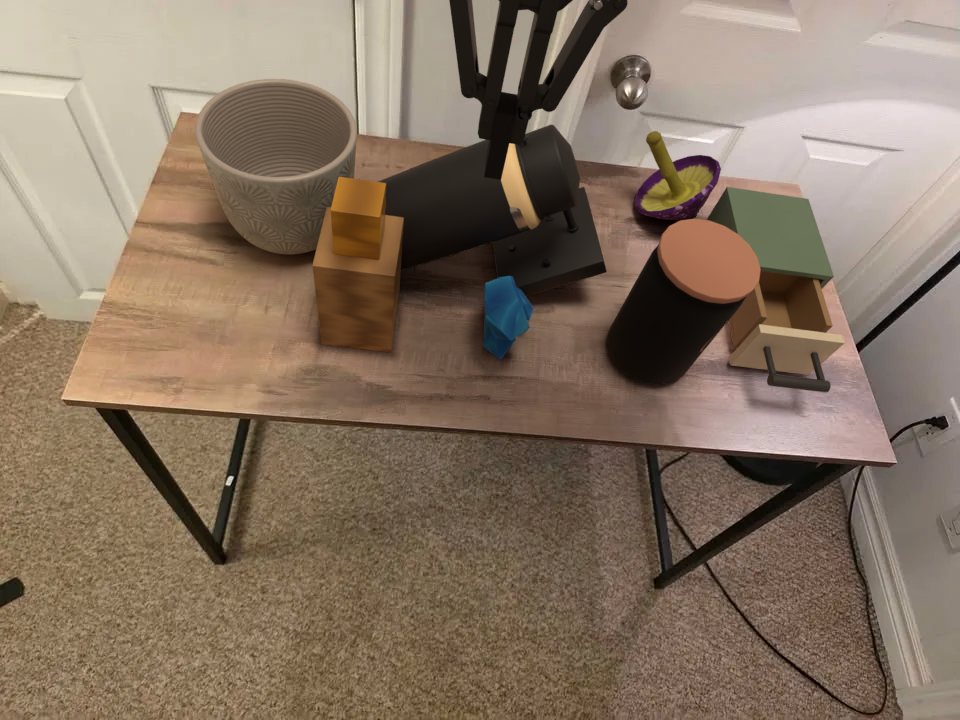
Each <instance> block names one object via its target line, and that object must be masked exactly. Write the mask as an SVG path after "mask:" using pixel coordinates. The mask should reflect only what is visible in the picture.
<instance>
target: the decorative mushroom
mask: <svg viewBox="0 0 960 720" xmlns="http://www.w3.org/2000/svg"><path fill="white" fill-rule="evenodd" d="M645 142H646V144H647V145H648V147H649V150H650V151H651V154H652V156H653V159H654V161H655V163H656V165H657V167H658V170H656V171H654V172H653V173H652V174H651V175H650V176H649V177H648V178H647V179H645V180H644V181H643V182H642V184H641V185H640V187H639V188H638V190H637V192H636V194H635V197H634V202H633V203H634V208H635V210H636V211H638V213H640V214H641V215H644V216H648V217H652V218H655V219H660V220H668V221H669V220H670V221H674V220H676V221H677V220H678V221H680V220H688V219H696V217H697V215H698V213H700V211H701V209H702V208H703V207H704V206H705V204H706V202H707V201H708V199H709V197H710V196H711V193H712V192H713V190H714V189H715V187H716V186H717V185H718V183H719V180H720V179H719V178H720V174H721V171H722V167H721V165H720V162H719V161H718V159H715V158H714V157H713V156H710V155H703V154H695V155H688V156H686V157H682V158H679V159H676V160H674V161H673V160H672V157H671V156H670V153H669V151H668V149H667V146H666V144H665V141H664V138H663V136H662V134H661V132H659V131H657V130H654V131H651V132H649V133H648V134H647V135H646V138H645Z"/></svg>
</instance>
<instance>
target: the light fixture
mask: <svg viewBox="0 0 960 720" xmlns="http://www.w3.org/2000/svg"><path fill="white" fill-rule="evenodd" d="M488 144H489V140H485V139H483V140H481V141H478V142H476V143H473V144H470V145H467V146H465V147H462V148H459V149H458V150H455V151H452V152H450V153H447V154H444V155H441V156H439V157H436V158H434V159H431V160H428V161H426V162H423V163H421V164H418V165H416V166H413V167H411V168H407V169H406V170H403V171H400V172H398V173H396V174H393V175H390V176H388V177H386V178H383V179H381V180H378V181H377V182H381V183H386V211H385V215H389V216H396V217H403V218H404V226H403V242H402V259H401V272H402V271H406V270H408V269H411V268H415V267H418V266H421V265H426V264H428V263H432V262H435V261H438V260H441V259H444V258H447V257H451V256H455V255H457V254H461V253H465V252H466V251H470V250H473V249H476V248H479V247H483V246H485V245H488V244H492V247H493V254H494V262H495V263H494V264H495V269H496V277H497V278H499V277H505V276H512V277H513V279H514V282H515V285H516V287H517V288H519V289H520V290H522V292H523V293H524V295H525V296H526V297H530V296H533V295H536V294H539V293H543V292H546V291H550V290H553V289H556V288H560V287H563V286H566V285H569V284H573V283H576V282H579V281H582V280H585V279H590V278H592V277H597V276H599V275H601V274H602V275H603V274H606V273H607V267H606V263H605V260H604V255H603V251H602V248H601V244H600V240H599V236H598V232H597V229H596V228H597V227H596V225H595V220H594V217H593V214H592V209H591V204H590V201H589V198H588V195H587V192H586V188H585V186H581V187H580V183H581V176H580V172H579V168H578V165H577V162H576V158H575V154H574V151H573V148H572V145H571V144H570V143H569V141H568V140H567V139H566V138H565V137H564V136H563V134H562V133H561V132H560V130H558V128H557V127H556V126H555V124H548V125H546V126H542V127H540V128H537V129H534V130H532V131H529V132H527V133H525V137H524V141H523V142H522V143H521V144H520V145H517V144H511V143H509V147H508V152H507V156H506V161H505V165H504V169H503V174H502V178H501V180H498V179H492V178H486V177H484V173H485V162H486V154H487V149H488Z"/></svg>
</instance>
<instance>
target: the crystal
mask: <svg viewBox="0 0 960 720" xmlns="http://www.w3.org/2000/svg"><path fill="white" fill-rule="evenodd" d="M483 288H484V289H483V292H484V293H483V294H484V295H483V297H484V298H483V299H484V321H483V322H484V323H483V339H482V341H483V342H482V347H483V348H484V349H485V350H487V351H488V352H490V353H491V354H492V355H493V356H495V358H497V359H499V360H500V361H501V360H502V359H503V357H505V355H506V354H507V352H508V351H509V350H510V348H511V347H512V345H513V344H514V343H515V342H516V341H517V338H518V337H519V336H521V335H522V334H524V333H525V332H527V331H528V330H529V329H530V324H529V322H530V321H531V318H532V315H533V312H534V309H535V308H534V306H533V305H532V303H531V301H530V300H529V299H528V298H527V297H528V296H525V295H524V293H523V292H522V290H520V289H519V288H517V287H516V285H515V282H514V279H513V277H512V276H505V277H499V278H494V279H491V280H490V281H486V282H485V284H484V285H483Z"/></svg>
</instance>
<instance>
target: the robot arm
mask: <svg viewBox="0 0 960 720" xmlns="http://www.w3.org/2000/svg"><path fill="white" fill-rule="evenodd" d="M573 1H574V0H498V8H497V13H496V19H495V26H494V31H493V37H492V42H491V49H490V54H489V60H488V64H487V71H486V75H485V74H484V73H481V72H480V66H479V57H478V55H479V54H478V47H477V36H476V26H475V16H474V6H473V0H449V1H448V2H449V9H450V16H451V24H452V31H453V39H454V47H455V54H456V62H457V70H458V78H459V86H460V87H459V88H460V92H461V95H462V96H463V98H466V99H475V100H477V101H478V102H479V103H480V104H481V109H480V114H479V119H478V127H477V136H478V139H480V140H489V144H488V149H487V154H486V162H485V173H484V177H486V178H492V179H498V180H501V178H502V174H503V169H504V165H505V161H506V156H507V152H508V147H509V143H511V144H517V145H520V144H521V143H522V142H523V141H524V137H525V134H527V133H526V132H527V128H528V126H529V125H528V124H529V121H530V120H531V119H532V117H533V112H535V111H538V110H543V111H544V112H546V113H552V112H554V111H555V110H556V109H557V108H558V106H559V105H560V103H561V101H562V100H563V98H564V96H565V95H566V93H567V91H568V89H569V88H570V86H571V85H572V83H573V81H574V79H575V77H576V76H577V74H578V73H579V71H580V70H581V67H582V65H583V64H584V62H585V61H586V58H587V57H588V56H589V54H590V52H591V51H592V49H593V47H594V46H595V44H596V42H597V40H598V38H600V36H601V33H602V31H603V30H604V28H606V27H607V26H608V25H609V24H610V23H611V22H612V21H614V20H615V19H616V18H618V16H620V14H622V13H623V12H624V11H625V10H626V9H627V6H628V2H629V1H628V0H587V2H586V4H585V6H584V7H583V9H582V11H581V12H580V14H579V16H578V18H577V19H576V22H575V23H574V25H573V27H572V29H571V31H570V32H569V34H568V36H567V38H566V39H565V42H564V43H563V45H562V47H561V49H560V51H559V53H558V54H557V56H556V58H555V60H554V62H553V64H552V65H551V67H550V68H549V71H548V73H547V75H546V76H545V78H544V80H543V82H542V83H540V80H541V76H542V72H543V69H544V64H545V60H546V56H547V51H548V48H549V43H550V39H551V36H552V34H553V33H554V32H553V31H554V28H555V24H556V21H557V16H558V12H560V11H562V10H564V9H565V8H566V7H567V6H568V5H570V4H571V2H573ZM519 11H529V12H532V13H533V18H532V21H531V27H530V31H529V37H528V41H527V45H526V49H525V54H524V58H523V64H522V68H521V71H520V77H519V81H518V86H517V93H510V92H505V91H503V87H504V81H505V76H506V70H507V66H508V61H509V56H510V51H511V47H512V46H511V45H512V42H513V37H514V31H515V27H516V24H517V19H518V14H519Z"/></svg>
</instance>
